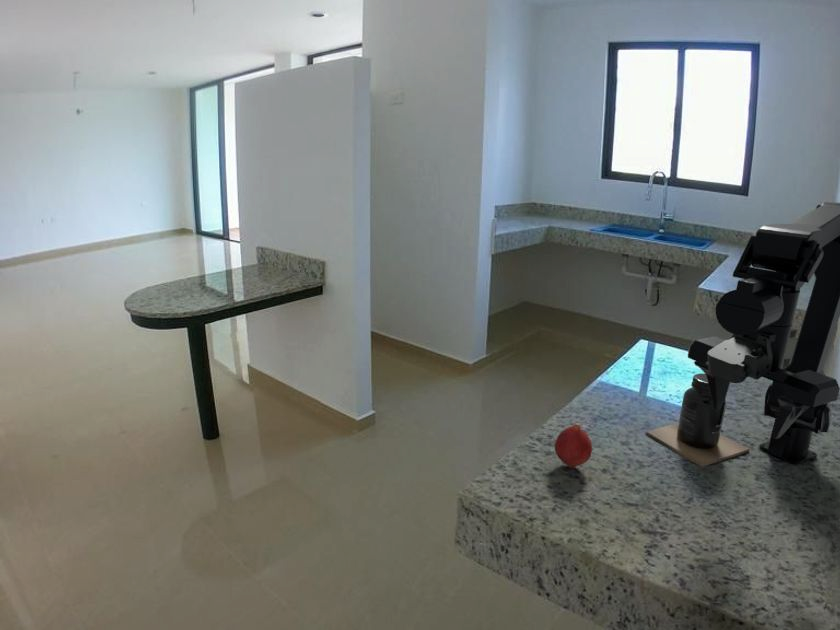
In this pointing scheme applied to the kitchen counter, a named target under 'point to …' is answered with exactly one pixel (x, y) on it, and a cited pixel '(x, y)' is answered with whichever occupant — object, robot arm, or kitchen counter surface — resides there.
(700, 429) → the supplement bottle
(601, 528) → the kitchen counter surface
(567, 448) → the onion
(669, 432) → the tan board
